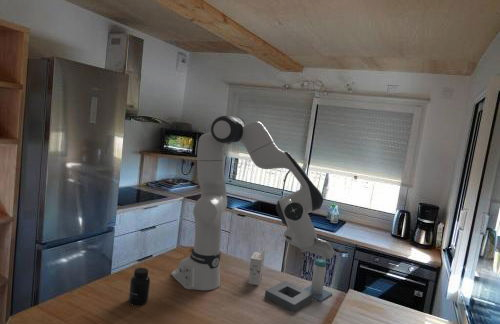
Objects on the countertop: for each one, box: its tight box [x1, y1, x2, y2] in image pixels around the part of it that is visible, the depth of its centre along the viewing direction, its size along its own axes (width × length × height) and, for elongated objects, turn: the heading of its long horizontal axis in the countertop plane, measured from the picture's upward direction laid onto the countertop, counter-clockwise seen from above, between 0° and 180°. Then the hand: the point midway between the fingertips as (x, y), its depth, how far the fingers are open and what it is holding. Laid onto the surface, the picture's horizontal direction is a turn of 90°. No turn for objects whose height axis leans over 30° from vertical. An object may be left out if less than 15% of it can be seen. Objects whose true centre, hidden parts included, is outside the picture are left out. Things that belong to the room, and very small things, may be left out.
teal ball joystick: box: [310, 258, 328, 295], centre depth 146 cm, size 5×5×14 cm
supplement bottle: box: [128, 267, 151, 306], centre depth 124 cm, size 7×7×12 cm
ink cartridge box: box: [248, 247, 266, 286], centre depth 152 cm, size 9×5×15 cm, turn 168°
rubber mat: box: [303, 285, 333, 303], centre depth 147 cm, size 10×10×1 cm
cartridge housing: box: [264, 280, 314, 313], centre depth 140 cm, size 14×14×3 cm
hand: (313, 254), depth 140 cm, fingers open, 8 cm apart
